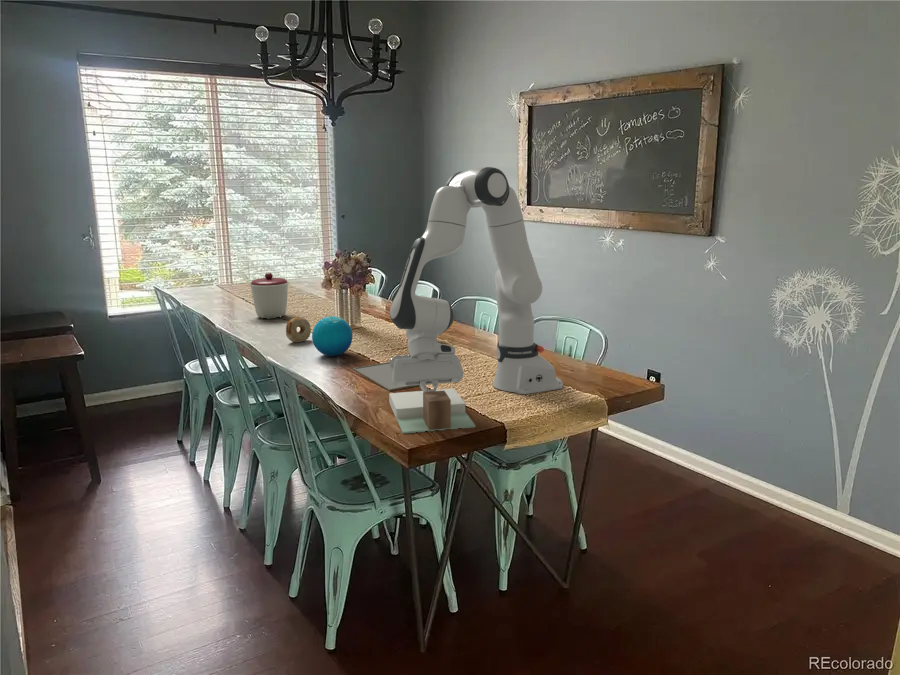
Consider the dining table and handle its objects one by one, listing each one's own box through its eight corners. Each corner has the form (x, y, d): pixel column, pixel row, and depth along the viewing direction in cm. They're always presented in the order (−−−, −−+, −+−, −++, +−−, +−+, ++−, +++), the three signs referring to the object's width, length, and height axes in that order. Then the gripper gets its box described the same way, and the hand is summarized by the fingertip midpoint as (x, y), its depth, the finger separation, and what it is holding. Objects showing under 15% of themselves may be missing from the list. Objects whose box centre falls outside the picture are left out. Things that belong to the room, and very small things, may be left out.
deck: (454, 397, 208) (454, 388, 207) (465, 413, 195) (465, 403, 194) (389, 402, 204) (389, 393, 203) (396, 419, 191) (396, 409, 190)
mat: (466, 414, 194) (466, 412, 194) (475, 427, 185) (475, 425, 184) (397, 420, 190) (397, 418, 190) (402, 433, 180) (402, 431, 180)
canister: (297, 313, 327) (294, 270, 322) (281, 321, 310) (278, 276, 305) (262, 312, 331) (259, 269, 325) (244, 320, 313) (241, 275, 308)
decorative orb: (340, 362, 245) (338, 322, 242) (305, 358, 251) (302, 319, 247) (360, 352, 259) (359, 314, 255) (326, 348, 264) (324, 311, 261)
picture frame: (440, 382, 224) (401, 362, 247) (440, 379, 224) (401, 360, 247) (389, 392, 214) (352, 370, 237) (389, 389, 214) (352, 367, 237)
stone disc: (290, 344, 270) (288, 320, 268) (285, 343, 273) (284, 318, 270) (313, 340, 277) (311, 316, 274) (308, 338, 279) (307, 315, 277)
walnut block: (444, 390, 188) (450, 399, 181) (444, 417, 190) (450, 427, 183) (423, 392, 187) (428, 401, 180) (423, 419, 189) (428, 429, 182)
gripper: (389, 350, 193) (395, 394, 186) (459, 346, 197) (467, 388, 190) (387, 361, 198) (393, 404, 191) (456, 357, 202) (463, 398, 196)
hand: (431, 396), depth 191 cm, fingers closed
